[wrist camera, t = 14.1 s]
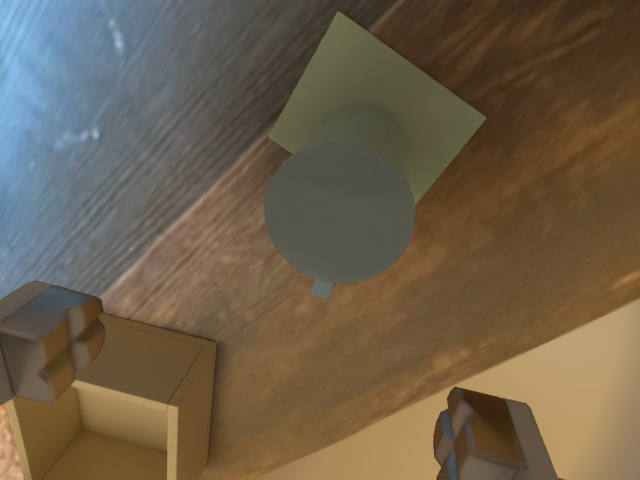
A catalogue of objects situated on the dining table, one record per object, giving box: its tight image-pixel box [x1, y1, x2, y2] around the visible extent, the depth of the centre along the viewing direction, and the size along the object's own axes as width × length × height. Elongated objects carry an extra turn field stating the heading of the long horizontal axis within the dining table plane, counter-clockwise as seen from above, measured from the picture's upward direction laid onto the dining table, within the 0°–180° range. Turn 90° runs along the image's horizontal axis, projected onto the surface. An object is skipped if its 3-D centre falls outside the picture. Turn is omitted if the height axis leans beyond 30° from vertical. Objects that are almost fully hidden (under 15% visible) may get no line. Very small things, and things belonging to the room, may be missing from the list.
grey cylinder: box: [265, 104, 415, 299], centre depth 19 cm, size 7×5×11 cm
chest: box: [5, 313, 217, 480], centre depth 34 cm, size 16×14×7 cm
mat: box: [268, 11, 487, 205], centre depth 23 cm, size 8×10×1 cm
